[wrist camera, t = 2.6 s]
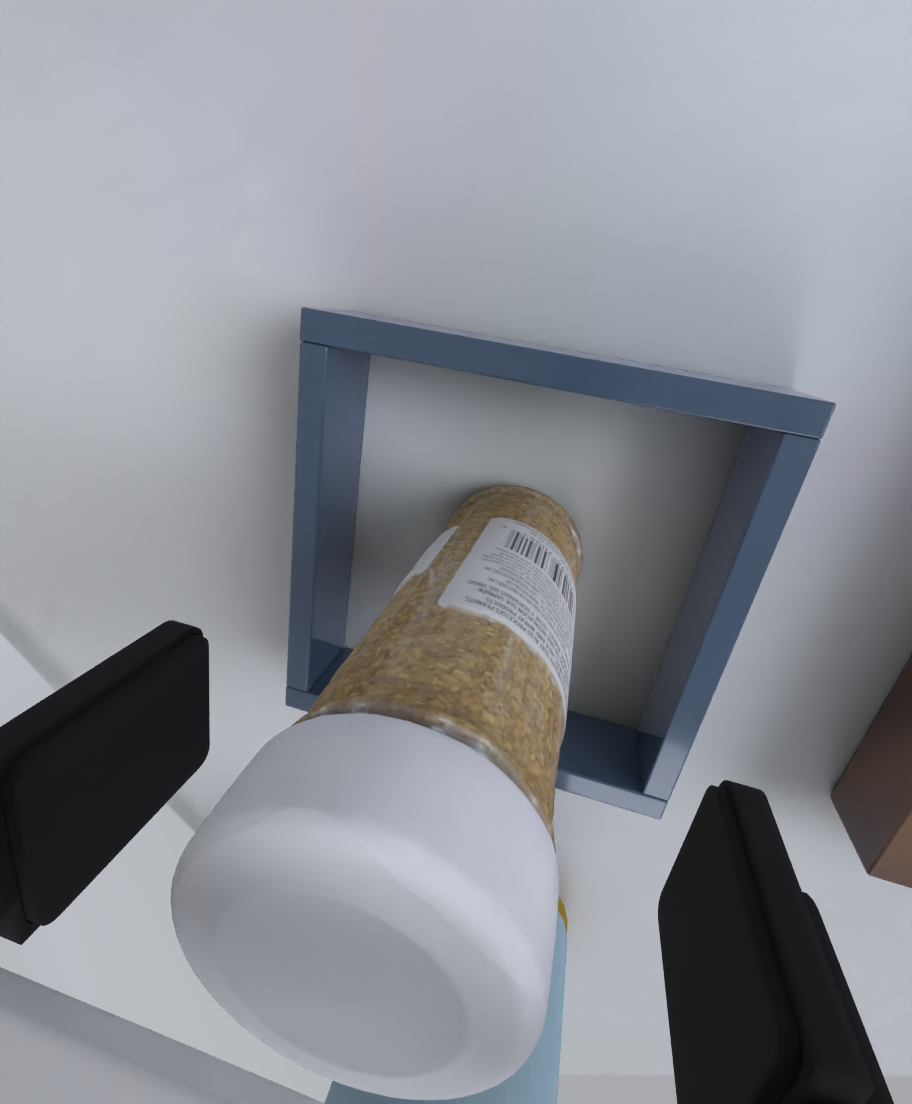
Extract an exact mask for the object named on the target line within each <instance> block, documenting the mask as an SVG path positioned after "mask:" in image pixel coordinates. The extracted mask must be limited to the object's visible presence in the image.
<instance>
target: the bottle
mask: <svg viewBox="0 0 912 1104" xmlns="http://www.w3.org/2000/svg"><path fill="white" fill-rule="evenodd" d="M566 949H567V918H566V913H565V908H564V905H563V903H562V901H561V899H560V898H559V897H558V911H557V925H556V939H555V948H554V956H553V965H552V974H551V982H550V991H549V1000H548V1008H547V1014H546V1018H545V1023H544V1027H543V1032H542V1034H541V1036H540V1038H539V1041H538V1043H537V1045H536V1047H535V1048H534V1050H533V1052H532V1053H531V1054H530V1056H529V1057H528V1059H527V1060H526V1062H525V1063H524V1064H523V1065H522V1066H521V1067H520V1068H519V1069H518V1071H517V1072H516V1073H515V1074H513V1075H512V1076H511V1077H509V1078H508V1079H506V1080H505V1081H503V1082H502V1083H500V1084H499V1085H497V1086H494V1087H492V1088H489V1089H487V1090H484V1091H482V1092H479V1093H476V1094H473V1095H469V1096H466V1097H461V1098H454V1099H447V1100H410V1099H401V1098H392V1097H387V1096H383V1095H379V1094H375V1093H370V1092H366V1091H362V1090H359V1089H356V1088H353V1087H349V1086H346V1085H343V1084H340V1083H338V1082H335V1081H332V1084H331V1087H330V1090H329V1092H328V1095H327V1098H326V1101H325V1104H557V1095H558V1078H559V1063H560V1047H561V1030H562V1014H563V998H564V981H565V965H566Z"/></svg>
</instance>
